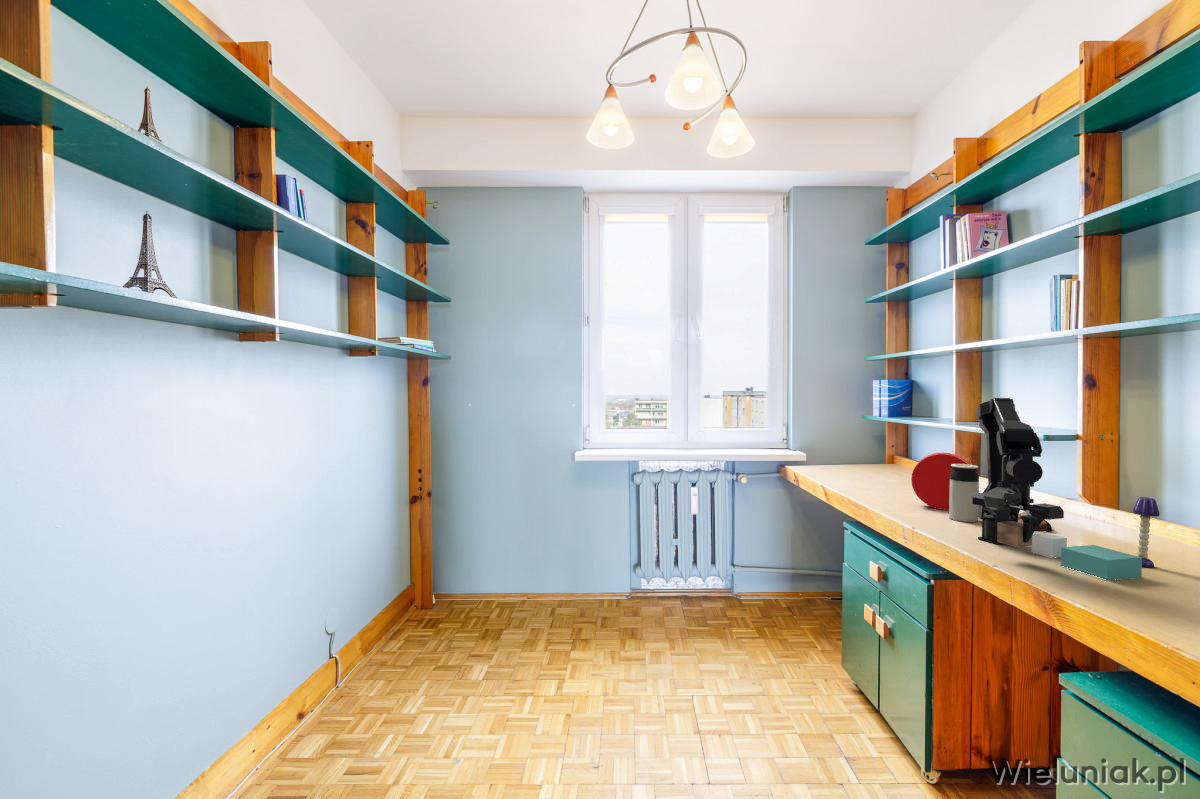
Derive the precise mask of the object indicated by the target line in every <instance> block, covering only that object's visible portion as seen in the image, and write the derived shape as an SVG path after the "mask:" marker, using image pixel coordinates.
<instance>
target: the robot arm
mask: <svg viewBox="0 0 1200 799" xmlns="http://www.w3.org/2000/svg"><path fill="white" fill-rule="evenodd" d="M976 420H977V421H978V425H979V428H980V429H981V430H982V431H983V433H984V434H985V438H986V458H987V460H986V461H987V480H988V482H987V486H986V488H984V490H983V491H982V492H979V493H975V494H974V496H973V497H972V504H975V505H978V509H977V511H978V519H980V520H981V521H982V522H981V524H982V525H981V536H978V537H977V540H980V541H985V542H989V543H993V544H996V545H1004V544H1003V543H999V542H997V526H998V522H1006V521H1014V522H1018V516H1019V514H1020V513H1021V512H1020V511H1022V512H1024V511H1026V515H1022V516H1020V517H1021V519H1022V520H1023V542H1025V543H1027V542H1028V541H1029V540H1030V538H1031V537H1032V535H1033V534H1035V532H1036V531H1035V530H1036V529H1037V527H1038V526H1039V525H1040V524H1041V522H1042V521H1043V520H1044V519H1045V520H1046V521H1048V520H1049V521H1050V520H1059V519H1064V518H1065V517H1064V516H1065V512H1064V509H1063V508H1062V507H1061V505H1056V504H1055V505H1054V504H1052V503H1051V504H1050V503H1035V504H1034V502H1035V499H1034V498H1031V488H1033V487H1035V483H1037V482H1039V480H1041V478H1042V477H1043V475H1044V474H1043V473H1044V472H1043V468H1042V466H1041V465H1040V464H1039V463H1038V462H1037V461H1035V460H1034V458H1041V456H1042V454H1043V453H1042V452H1043V447H1042V444H1041V440H1040V437H1039V436H1038V434H1037V432H1035V430H1034V429H1033V428H1032V426H1031V425H1029V424H1027V423H1024V422H1022V421H1021V419H1020V416H1019V414H1018V413H1017V411H1016V404H1015V403H1014V399H1013V398H1010V397H993V398H990V399H989V400H987V401H985V402H982V403H979V405H978V406H977V408H976Z"/></svg>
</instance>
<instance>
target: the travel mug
mask: <svg viewBox="0 0 1200 799" xmlns="http://www.w3.org/2000/svg"><path fill="white" fill-rule="evenodd" d="M951 466H952V472H951V473H950V498H949V510H948V517H949V518H950V519H951V520H953V521H956V520H957V521H956V522H961V521H963V522H962V523H977V522H978V521H979V517H978V511H977V509H978V505H975V504H972V497H973V496H974V494H975V493H980V492H979V491H980V488H979V487H980V476H979V474H978V468H979V465H974V464H970V465H968V464H951Z"/></svg>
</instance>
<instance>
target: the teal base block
mask: <svg viewBox="0 0 1200 799" xmlns="http://www.w3.org/2000/svg"><path fill="white" fill-rule="evenodd" d="M1061 566H1064V567H1068V568H1071V569H1074V570H1077V571H1081V572H1084V573H1087V574H1090V575H1094V576H1097V577H1100V578H1103V579H1106V580H1111V581H1118V580H1117V579H1123V580H1132V579H1131V578H1134V579H1142V570H1143V569H1142V568H1143V567H1142V557H1138V555H1134V554H1130V553H1126V552H1122V551H1118V550H1115V549H1110V548H1109V547H1108V548H1107V547H1104V546H1100V545H1096V544H1088V545H1074V546H1067V547H1061V557H1060V567H1061ZM1064 567H1063V568H1064ZM1071 569H1070V570H1071ZM1074 570H1073V571H1074ZM1077 571H1076V572H1077ZM1087 574H1086V575H1087ZM1090 575H1089V576H1090ZM1103 579H1102V580H1103ZM1115 579H1116V580H1115ZM1106 580H1105V581H1106Z"/></svg>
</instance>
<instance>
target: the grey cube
mask: <svg viewBox="0 0 1200 799" xmlns="http://www.w3.org/2000/svg"><path fill="white" fill-rule="evenodd" d="M1067 541H1068V538H1067V537H1065V536H1060V535H1056V534H1052V533H1049V532H1040V533H1033V535H1032V546H1031V554H1035V553H1036V554H1035V555H1038V554H1040V555H1039V556H1042V555H1044V556H1043V557H1046V556H1047V557H1046V558H1049V557H1051V558H1050V559H1056V558H1055V557H1060V558H1061V547H1068V544H1067Z"/></svg>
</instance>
